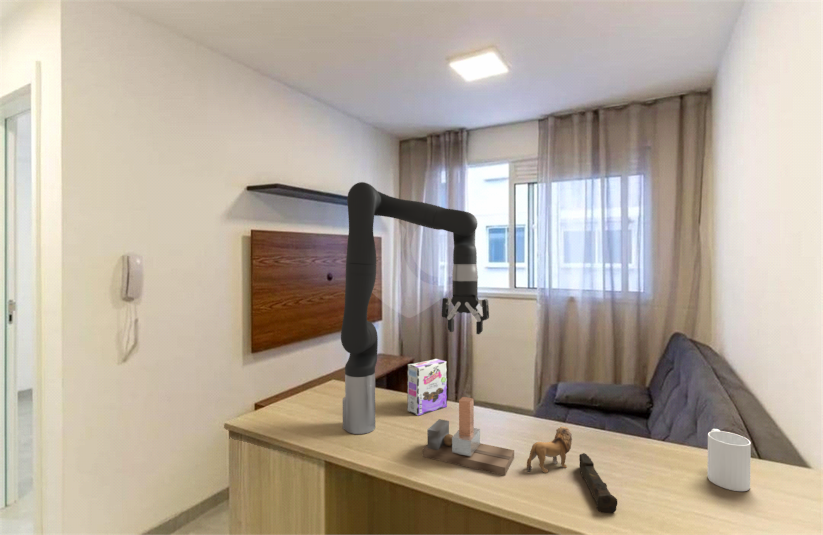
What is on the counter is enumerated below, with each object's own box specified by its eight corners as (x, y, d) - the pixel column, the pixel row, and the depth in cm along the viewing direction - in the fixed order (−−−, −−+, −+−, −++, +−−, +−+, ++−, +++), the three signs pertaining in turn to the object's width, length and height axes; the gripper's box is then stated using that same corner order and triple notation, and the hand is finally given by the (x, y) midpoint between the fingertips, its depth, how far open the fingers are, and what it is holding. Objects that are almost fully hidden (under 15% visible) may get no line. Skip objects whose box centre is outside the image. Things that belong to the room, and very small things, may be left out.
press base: (422, 456, 108) (422, 430, 108) (437, 441, 117) (437, 417, 117) (505, 475, 99) (505, 447, 98) (514, 457, 107) (514, 431, 107)
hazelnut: (441, 446, 110) (441, 435, 110) (446, 442, 112) (446, 431, 112) (452, 448, 108) (452, 437, 108) (456, 444, 111) (456, 433, 111)
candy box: (417, 416, 136) (417, 367, 136) (406, 411, 141) (406, 363, 140) (447, 406, 145) (447, 360, 144) (436, 402, 149) (436, 357, 149)
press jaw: (452, 452, 106) (452, 402, 105) (462, 440, 113) (462, 393, 113) (470, 456, 103) (470, 405, 103) (480, 443, 111) (480, 396, 110)
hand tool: (618, 516, 83) (618, 493, 83) (597, 514, 84) (597, 491, 84) (593, 469, 102) (593, 450, 102) (576, 468, 103) (576, 449, 103)
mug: (757, 494, 90) (758, 447, 90) (715, 489, 92) (716, 443, 92) (731, 467, 102) (732, 425, 102) (695, 463, 104) (695, 422, 104)
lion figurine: (560, 455, 109) (560, 422, 108) (577, 464, 104) (577, 429, 104) (520, 470, 101) (520, 434, 101) (536, 480, 97) (536, 442, 96)
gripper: (438, 279, 123) (438, 333, 123) (484, 280, 117) (484, 336, 117) (447, 278, 130) (447, 329, 130) (491, 279, 123) (491, 332, 124)
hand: (465, 332), depth 123 cm, fingers open, 8 cm apart
